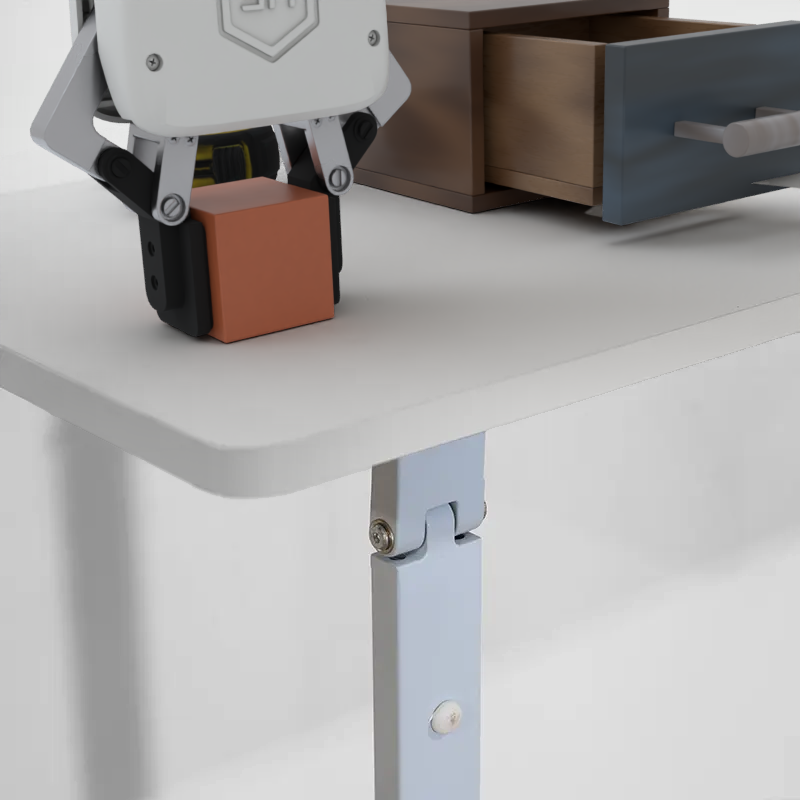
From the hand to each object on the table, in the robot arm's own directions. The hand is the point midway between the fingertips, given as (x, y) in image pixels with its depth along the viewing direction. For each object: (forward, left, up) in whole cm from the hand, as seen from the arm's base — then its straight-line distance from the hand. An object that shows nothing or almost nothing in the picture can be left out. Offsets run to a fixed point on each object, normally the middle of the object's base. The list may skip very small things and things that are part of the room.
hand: (249, 306), depth 50 cm
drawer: (-5, -22, +1) cm, 23 cm away
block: (0, 0, 0) cm, 0 cm away
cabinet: (+6, -26, 0) cm, 27 cm away
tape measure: (+15, -14, -1) cm, 21 cm away
